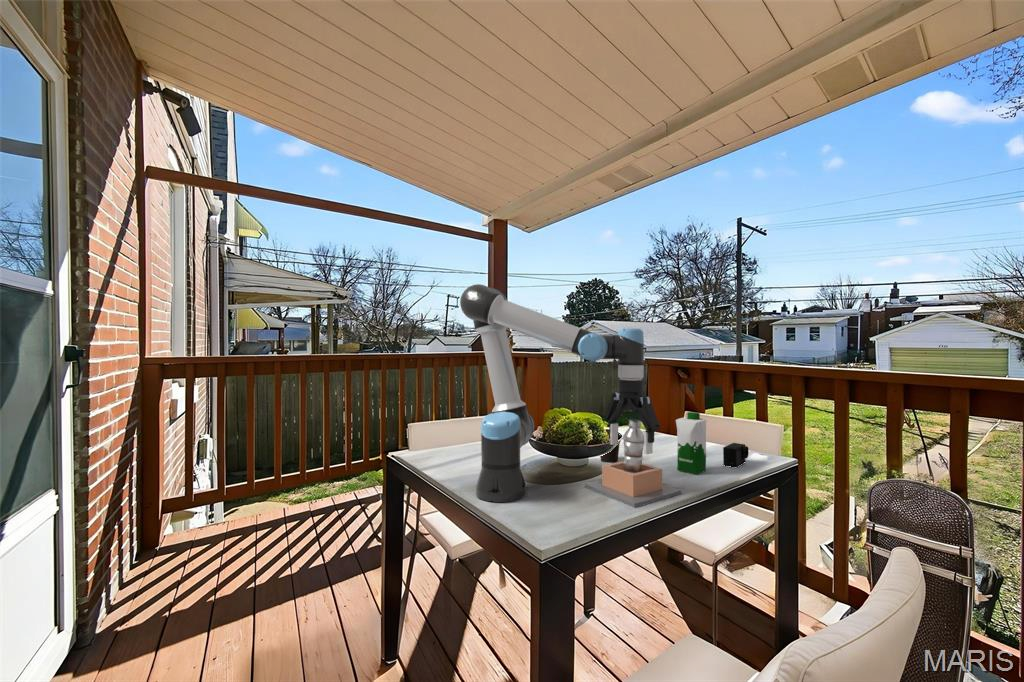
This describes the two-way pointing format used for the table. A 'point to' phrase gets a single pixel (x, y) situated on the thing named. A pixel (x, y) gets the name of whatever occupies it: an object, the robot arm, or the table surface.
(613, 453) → the coffee mug
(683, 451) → the milk carton
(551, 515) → the table surface
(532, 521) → the table surface
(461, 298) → the robot arm
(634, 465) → the silver bottle
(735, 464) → the digital camera
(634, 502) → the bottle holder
